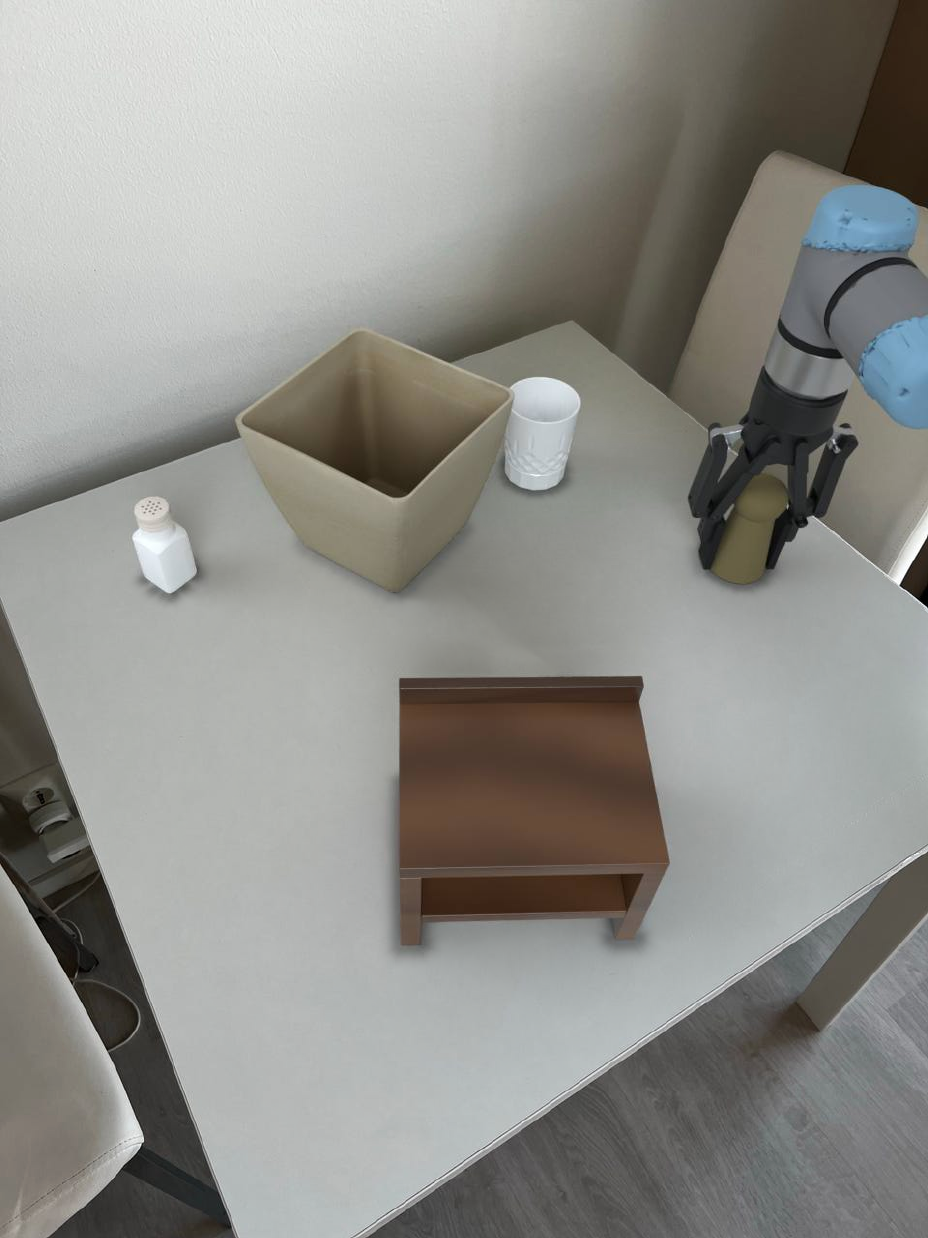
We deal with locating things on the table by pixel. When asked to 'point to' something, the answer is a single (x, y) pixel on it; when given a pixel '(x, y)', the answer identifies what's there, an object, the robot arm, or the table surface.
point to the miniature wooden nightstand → (526, 802)
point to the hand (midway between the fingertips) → (735, 559)
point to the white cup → (540, 432)
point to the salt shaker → (162, 545)
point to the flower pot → (377, 452)
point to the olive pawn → (750, 530)
